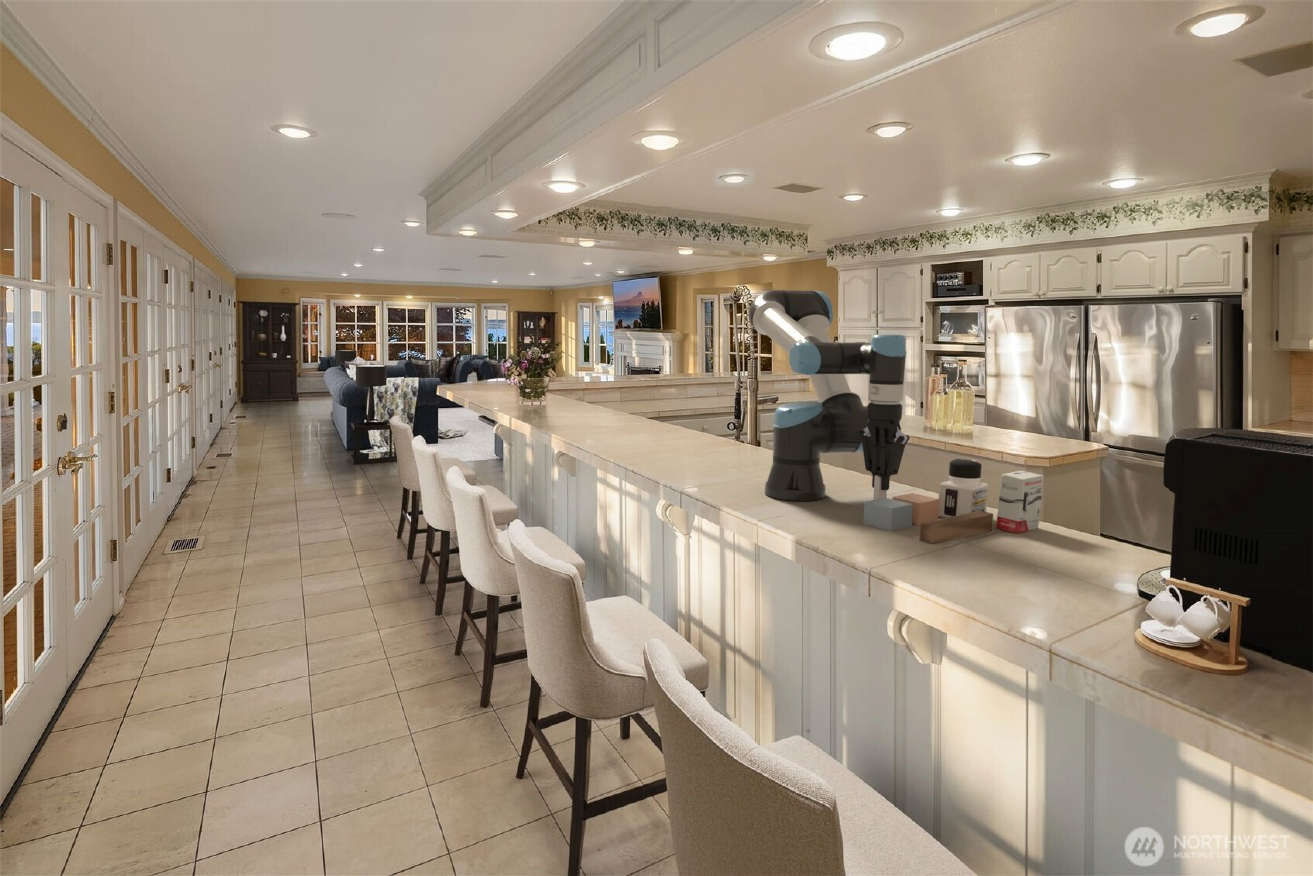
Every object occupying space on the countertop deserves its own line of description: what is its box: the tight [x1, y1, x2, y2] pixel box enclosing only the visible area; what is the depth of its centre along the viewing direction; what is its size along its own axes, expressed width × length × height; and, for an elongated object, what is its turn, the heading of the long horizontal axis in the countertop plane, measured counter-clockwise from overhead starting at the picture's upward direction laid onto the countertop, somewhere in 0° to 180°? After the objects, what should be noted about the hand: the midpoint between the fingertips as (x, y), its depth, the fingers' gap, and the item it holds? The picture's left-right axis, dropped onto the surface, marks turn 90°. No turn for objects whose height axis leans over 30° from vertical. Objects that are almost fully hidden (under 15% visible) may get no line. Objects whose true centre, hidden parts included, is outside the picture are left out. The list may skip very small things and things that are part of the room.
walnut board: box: [919, 511, 994, 545], centre depth 144 cm, size 3×20×4 cm, turn 122°
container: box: [938, 458, 989, 518], centre depth 158 cm, size 8×8×13 cm
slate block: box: [863, 497, 913, 532], centre depth 152 cm, size 7×7×5 cm
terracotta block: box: [892, 492, 940, 526], centre depth 156 cm, size 7×7×5 cm
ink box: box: [995, 470, 1045, 534], centre depth 149 cm, size 8×5×12 cm, turn 123°
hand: (879, 502), depth 165 cm, fingers closed
